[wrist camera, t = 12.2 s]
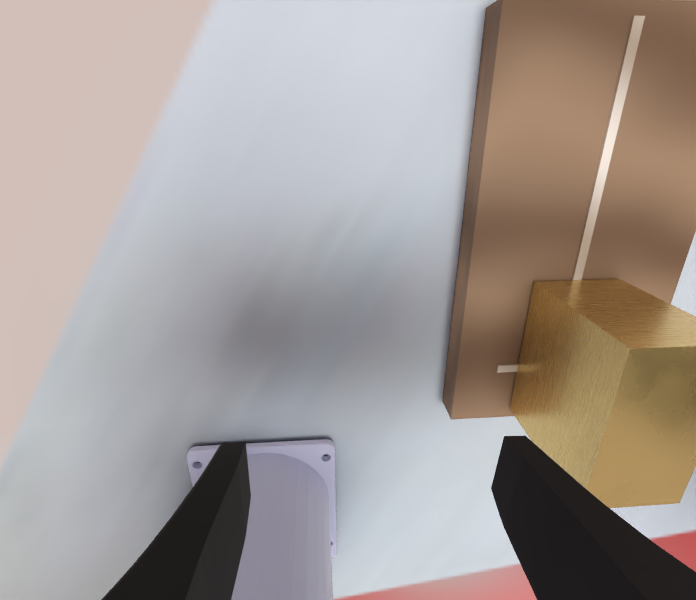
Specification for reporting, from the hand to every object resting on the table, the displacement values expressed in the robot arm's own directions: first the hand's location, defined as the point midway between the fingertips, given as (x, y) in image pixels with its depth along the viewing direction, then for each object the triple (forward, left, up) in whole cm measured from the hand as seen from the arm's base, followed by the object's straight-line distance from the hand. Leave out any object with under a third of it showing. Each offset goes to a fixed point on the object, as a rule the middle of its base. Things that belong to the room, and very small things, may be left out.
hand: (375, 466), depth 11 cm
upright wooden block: (-1, -10, -8) cm, 13 cm away
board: (+4, -10, -9) cm, 14 cm away
